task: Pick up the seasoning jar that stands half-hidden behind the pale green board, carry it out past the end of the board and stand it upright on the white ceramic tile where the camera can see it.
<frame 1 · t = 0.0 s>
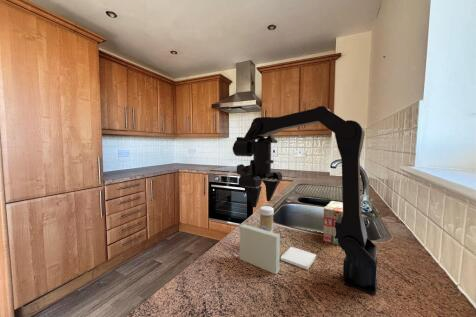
hand: (261, 204, 65), 15 cm above the countertop, fingers open, 9 cm apart
tile pad: (298, 258, 59), on the countertop
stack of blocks: (338, 234, 77), on the countertop
pale green board: (258, 264, 56), on the countertop
seasoning jar: (266, 247, 66), on the countertop
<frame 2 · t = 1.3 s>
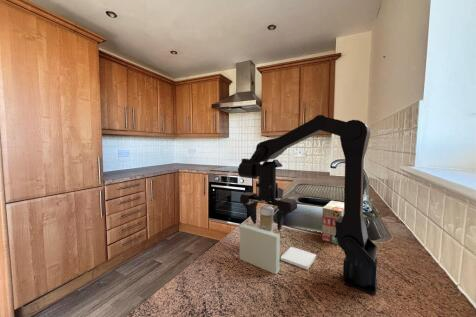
hand: (266, 226, 65), 7 cm above the countertop, fingers open, 9 cm apart
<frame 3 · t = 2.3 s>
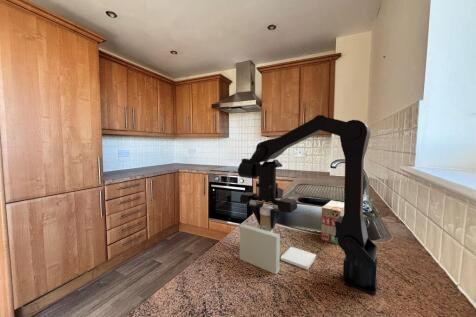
hand: (266, 226, 65), 7 cm above the countertop, fingers closed on seasoning jar, 4 cm apart
seasoning jar: (266, 247, 66), on the countertop, touching gripper
everything else where it was.
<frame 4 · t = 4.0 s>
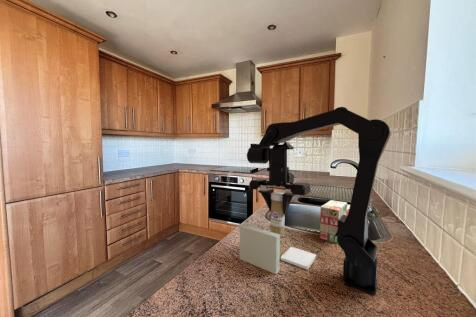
hand: (278, 212, 62), 13 cm above the countertop, fingers closed on seasoning jar, 4 cm apart
seasoning jar: (277, 235, 63), point 5 cm above the countertop, touching gripper
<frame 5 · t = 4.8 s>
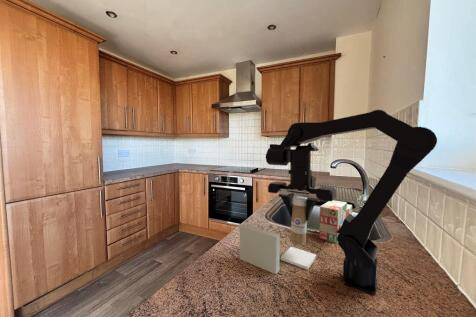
hand: (299, 218, 58), 12 cm above the countertop, fingers closed on seasoning jar, 4 cm apart
seasoning jar: (298, 242, 59), point 5 cm above the countertop, touching gripper
when the fingers open (9 cm above the countertop, at t = 5.7 s): seasoning jar drops 1 cm, resting on tile pad.
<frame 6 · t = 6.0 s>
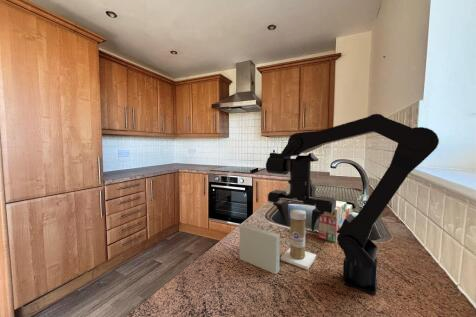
hand: (299, 228, 59), 9 cm above the countertop, fingers open, 8 cm apart
seasoning jar: (297, 256, 59), point 1 cm above the countertop, touching tile pad
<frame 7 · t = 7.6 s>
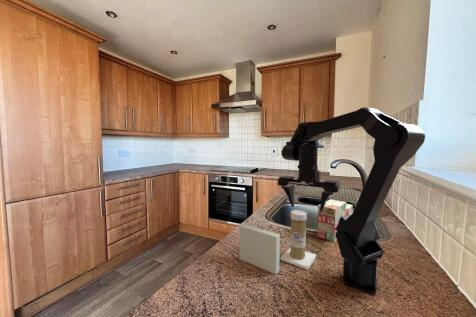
hand: (306, 209, 64), 13 cm above the countertop, fingers open, 9 cm apart
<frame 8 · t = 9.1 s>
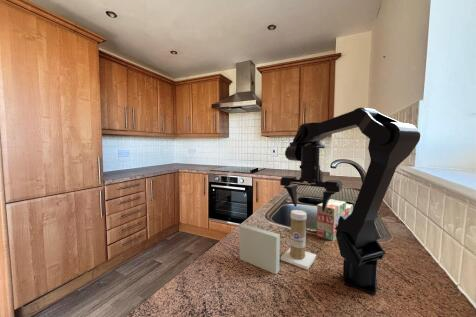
hand: (308, 208, 65), 13 cm above the countertop, fingers open, 9 cm apart
at the end: seasoning jar 0.3 cm off-centre on the tile pad, point 0.6 cm above the tile pad's base; seasoning jar tilted 0°; the gripper is holding nothing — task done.
